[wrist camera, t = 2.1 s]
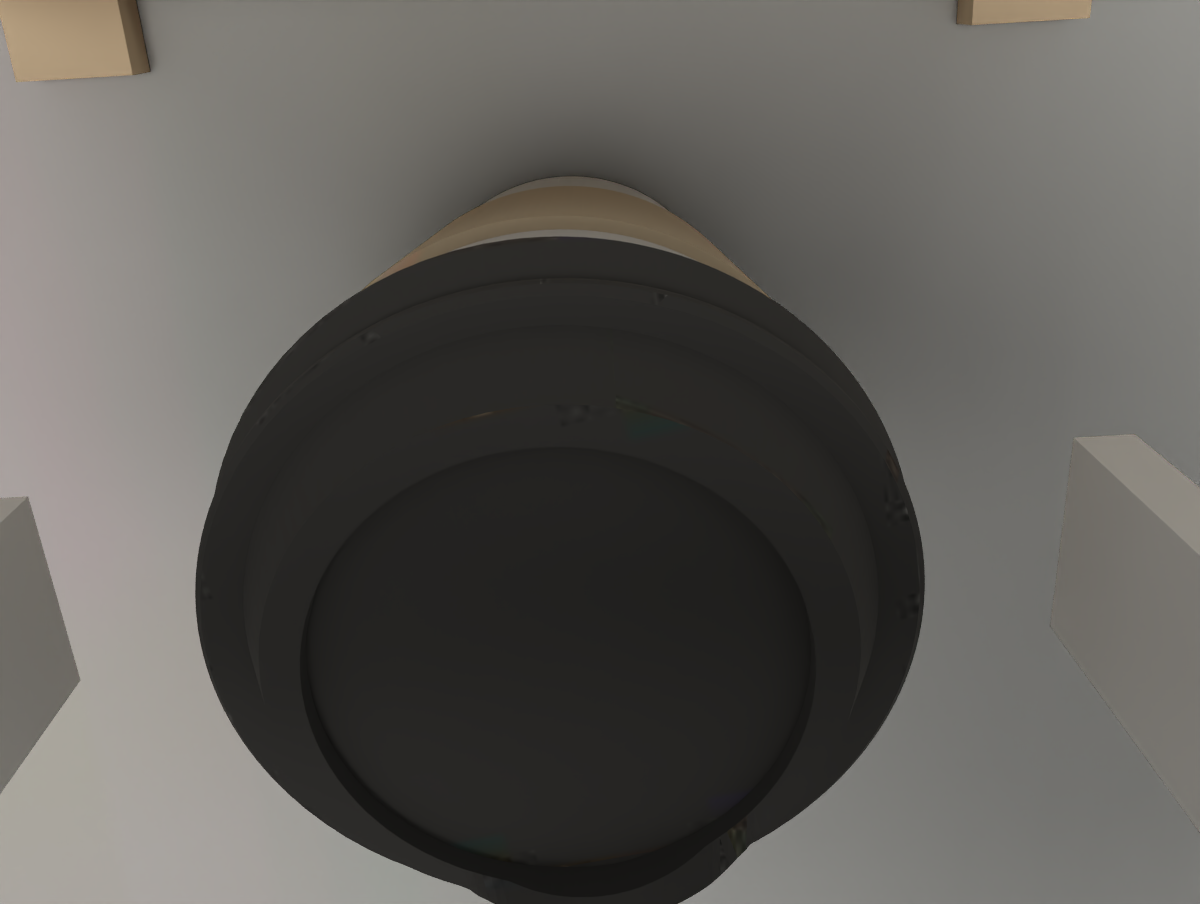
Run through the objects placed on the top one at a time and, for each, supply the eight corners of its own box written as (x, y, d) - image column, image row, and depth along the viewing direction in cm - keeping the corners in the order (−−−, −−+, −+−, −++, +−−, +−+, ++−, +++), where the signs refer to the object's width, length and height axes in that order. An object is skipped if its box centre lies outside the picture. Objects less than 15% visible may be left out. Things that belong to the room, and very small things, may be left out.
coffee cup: (327, 169, 25) (-3, 395, 11) (731, 81, 24) (936, 200, 10) (434, 528, 28) (288, 1055, 14) (789, 458, 27) (1004, 935, 13)
